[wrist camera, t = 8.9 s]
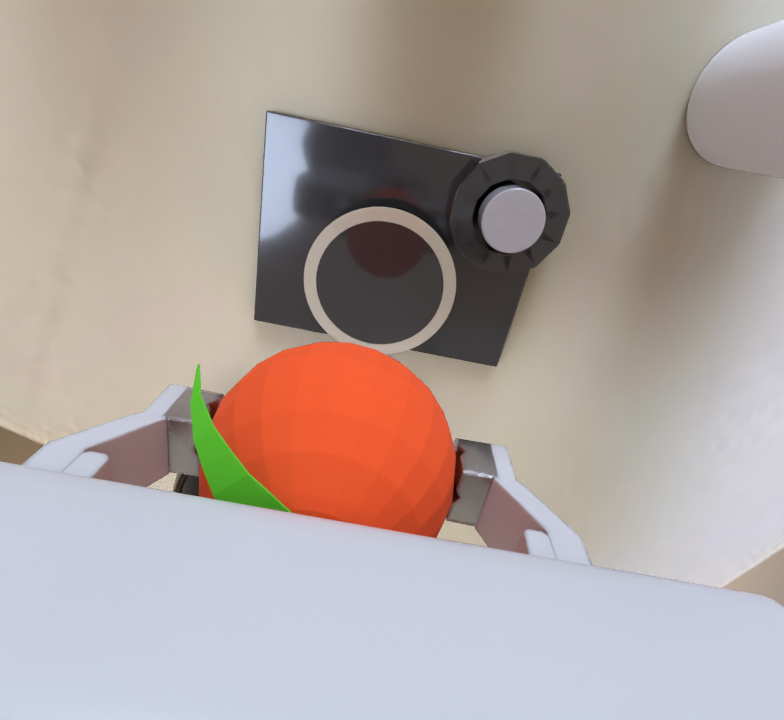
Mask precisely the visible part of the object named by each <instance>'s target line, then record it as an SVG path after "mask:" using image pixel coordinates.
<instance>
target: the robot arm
mask: <svg viewBox="0 0 784 720" xmlns="http://www.w3.org/2000/svg"><path fill="white" fill-rule="evenodd" d="M192 391H193V388H189V387H185V386H180V385H174V384H172V385H169V386H168V387H167V388H166V389H165V390H164V391H163V392H162V393H161V394H160V395H159V396H158V397H157V398H156V399H155V400H154V401H153V402H152V403H151V404H150V405H149V407H148V408H147V409H146V410H145V411H144V412H143V413H134V414H131V415H128V416H125V417H122V418H119V419H116V420H113V421H110V422H107V423H104V424H101V425H98V426H95V427H92V428H89V429H86V430H83V431H80V432H77V433H74V434H71V435H68V436H65V437H62V438H59V439H56V440H53V441H50V442H48V443H47V444H45V445H44V446H43V447H42V448H41V449H39V450H38V451H37V452H36V453H35V454H34V455H32V456H31V457H30V458H29V459H28V460H27V461H25V462H24V463H23V464H22V465H16V464H11V463H5V462H0V720H784V607H783V606H781V605H780V604H778V603H777V602H775V601H774V600H772V599H769V598H767V597H764V596H761V595H757V594H752V593H747V592H741V591H736V590H730V589H724V588H718V587H713V586H707V585H701V584H695V583H689V582H684V581H678V580H672V579H666V578H660V577H654V576H649V575H643V574H637V573H632V572H626V571H620V570H615V569H609V568H603V567H598V566H593V565H592V563H591V560H590V558H589V555H588V553H587V550H586V548H585V546H584V543H583V541H582V538H581V537H580V536H579V535H578V534H577V533H576V532H575V531H573V530H572V529H571V528H570V527H569V526H568V525H567V524H566V523H565V522H564V521H563V520H562V519H560V518H559V517H558V516H557V515H556V514H555V513H554V512H553V511H552V510H551V509H550V508H548V507H547V506H546V505H545V504H544V503H543V502H542V501H541V500H540V499H539V498H538V497H536V496H535V495H534V494H533V493H532V492H531V491H530V490H529V489H528V488H527V487H526V486H524V485H523V484H522V483H519V482H517V480H516V476H515V473H514V470H513V466H512V463H511V460H510V456H509V453H508V450H507V448H506V447H505V446H502V445H496V444H487V443H481V442H475V441H469V440H464V439H458V438H456V439H455V441H454V443H453V445H454V450H455V454H456V464H455V476H454V488H453V499H452V505H451V508H450V510H449V512H448V514H447V516H446V521H451V522H456V523H461V524H466V525H471V526H475V529H476V530H477V532H478V533H479V534H480V536H481V537H482V539H483V540H484V542H485V543H486V544H487V546H488V547H484V546H478V545H473V544H467V543H461V542H456V541H450V540H444V539H438V538H433V537H427V536H421V535H416V534H410V533H404V532H399V531H393V530H387V529H381V528H376V527H370V526H364V525H359V524H353V523H347V522H341V521H336V520H330V519H324V518H319V517H313V516H307V515H302V514H296V513H290V512H284V511H279V510H273V509H267V508H262V507H256V506H250V505H245V504H239V503H233V502H227V501H222V500H216V499H210V498H205V497H199V496H193V495H188V494H182V493H176V492H171V491H165V490H159V489H153V488H148V487H147V486H149V485H151V484H152V483H154V482H156V481H157V480H159V479H161V478H162V477H164V476H166V475H167V474H169V472H172V473H179V474H185V475H192V476H199V466H200V459H199V456H198V453H197V450H196V446H195V443H194V440H193V429H192V417H191V405H190V401H191V396H192ZM201 396H202V399H203V401H204V403H205V406H206V408H207V410H208V413H209V415H210V417H211V419H213V417H214V415H215V413H216V411H217V409H218V407H219V405H220V403H221V401H222V399H223V397H224V395H223V394H219V393H214V392H210V391H205V390H201Z"/></svg>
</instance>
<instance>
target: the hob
mask: <svg viewBox="0 0 784 720" xmlns="http://www.w3.org/2000/svg"><path fill="white" fill-rule="evenodd" d="M505 185H518V186H522V187H524V188H526V189H528V190H529V191H531V192H533V193H534V194H536V195H537V196H538V197H539V199H540V200H541V202H542V203H543V206H544V208H545V214H546V221H545V226H544V229H543V232H542V234H541V235H540V237H539V238H538V240H537V241H536V242H535V243H534V244H533V245H532V246H530V247H529V248H527V249H525V250H523V251H521V252H517V253H503V252H499V251H497V250H495V249H493V248H492V247H491V246H490V245H489V244H488V243H487V242H486V240H485V239H484V237H483V235H482V234H481V232H480V229H479V226H478V213H479V209H480V206H481V204H482V202H483V201H484V199H485V198H486V197H487V196H488V195H489V194H490V193H491V192H492V191H493V190H495V189H497V188H499V187H501V186H505ZM367 207H390V208H396V209H399V210H403V211H406V212H408V213H410V214H413V215H415V216H417V217H418V218H420V219H421V220H423V221H425V222H426V223H427V224H428V225H429V226H431V227H432V228H433V229H434V230H435V231H436V232H437V233H438V234H439V236H440V237H441V238H442V240H443V241H444V243H445V244H446V246H447V248H448V250H449V252H450V254H451V257H452V260H453V263H454V267H455V272H456V293H455V298H454V302H453V305H452V308H451V311H450V313H449V315H448V317H447V319H446V320H445V322H444V323H443V325H442V326H441V327H440V328H439V330H438V331H437V332H436V333H435V334H434V335H433V336H431V337H430V338H429V339H428V340H426V341H425V342H423V343H422V344H420V345H418V346H416V347H414V348H412V349H410V350H413V351H418V352H423V353H429V354H434V355H439V356H444V357H449V358H454V359H460V360H465V361H470V362H475V363H480V364H486V365H491V366H497V364H498V361H499V358H500V355H501V352H502V349H503V346H504V343H505V340H506V337H507V334H508V331H509V329H510V326H511V323H512V320H513V317H514V314H515V311H516V308H517V305H518V302H519V299H520V296H521V293H522V290H523V287H524V284H525V281H526V278H527V275H528V272H529V269H530V268H534V267H535V266H537V265H538V264H539V263H540V262H541V261H542V260H543V259H544V258H545V257H546V256H548V255H549V254H550V253H551V252H552V251H553V250H554V249H555V248H556V247H557V246H558V244H559V243H560V241H561V238H562V235H563V233H564V230H565V227H566V224H567V221H568V219H569V216H570V214H569V213H570V209H569V203H568V197H567V191H566V185H565V182H564V180H563V179H562V178H561V174H560V173H556V172H555V171H554V169H553V168H552V167H551V166H550V165H549V164H548V163H547V162H546V161H545V160H543V159H542V158H539V157H535V156H530V155H526V154H521V153H516V152H512V151H507V150H506V151H502V152H499V153H496V154H494V155H491V156H488V157H482V156H477V155H473V154H468V153H464V152H459V151H454V150H450V149H445V148H440V147H436V146H431V145H426V144H422V143H417V142H413V141H408V140H403V139H399V138H394V137H389V136H385V135H380V134H375V133H371V132H366V131H362V130H357V129H352V128H348V127H343V126H338V125H334V124H329V123H324V122H320V121H315V120H311V119H306V118H301V117H297V116H292V115H287V114H283V113H278V112H273V111H267V112H266V126H265V143H264V161H263V178H262V195H261V212H260V229H259V246H258V263H257V280H256V298H255V315H254V320H258V321H263V322H268V323H273V324H278V325H284V326H289V327H294V328H299V329H304V330H309V331H315V332H320V333H325V334H328V333H327V332H326V331H325V330H324V329H323V328H322V327H321V326H320V324H319V323H318V321H317V320H316V319H315V317H314V315H313V313H312V311H311V310H310V307H309V305H308V302H307V299H306V294H305V290H304V269H305V263H306V259H307V256H308V253H309V251H310V249H311V247H312V245H313V243H314V241H315V240H316V239H317V237H318V236H319V234H320V233H321V232H322V231H323V230H324V229H325V228H326V227H327V226H328V225H329V224H330V223H332V222H333V221H334V220H336V219H337V218H339V217H340V216H342V215H344V214H346V213H349V212H351V211H354V210H357V209H361V208H367Z"/></svg>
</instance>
